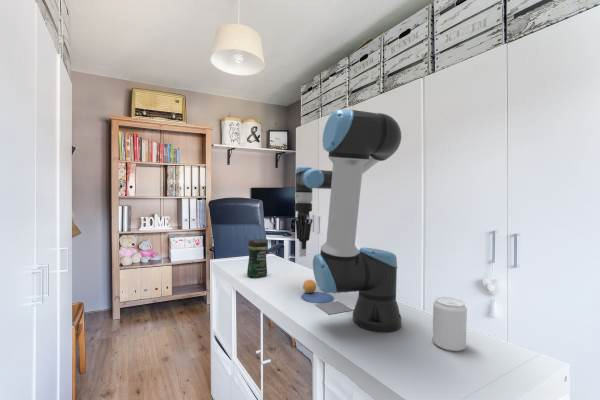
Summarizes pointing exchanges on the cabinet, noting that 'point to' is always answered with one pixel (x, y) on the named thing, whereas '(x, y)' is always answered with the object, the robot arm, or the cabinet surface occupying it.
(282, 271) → the cabinet surface
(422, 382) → the cabinet surface
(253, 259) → the coffee jar
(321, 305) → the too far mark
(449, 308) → the beverage can
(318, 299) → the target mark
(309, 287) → the ball
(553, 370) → the cabinet surface
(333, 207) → the robot arm
